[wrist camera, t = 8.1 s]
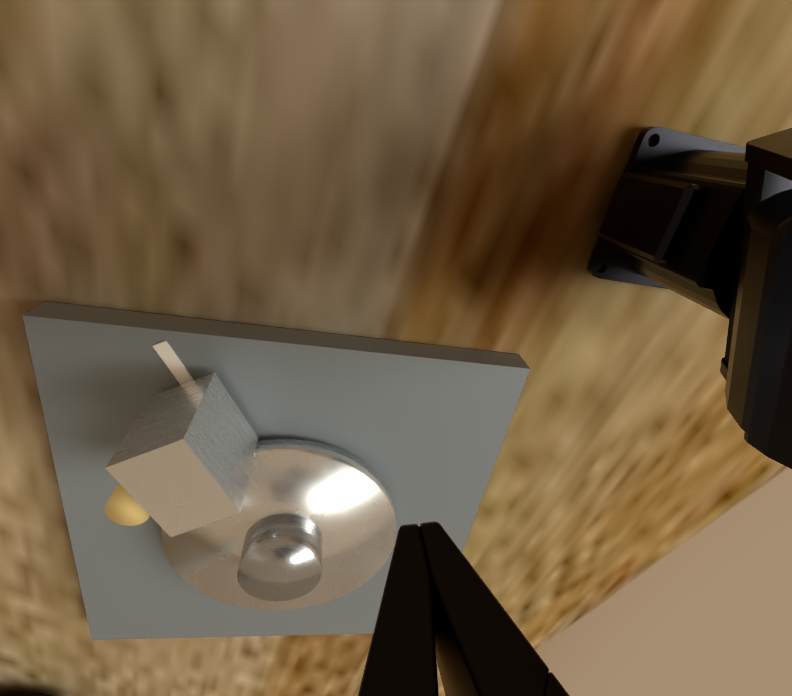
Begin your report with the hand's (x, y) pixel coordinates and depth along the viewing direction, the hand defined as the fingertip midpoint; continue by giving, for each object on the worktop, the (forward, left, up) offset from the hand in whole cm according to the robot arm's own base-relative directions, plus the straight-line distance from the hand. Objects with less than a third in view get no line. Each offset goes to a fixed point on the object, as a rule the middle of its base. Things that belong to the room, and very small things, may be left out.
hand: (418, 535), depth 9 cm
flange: (+4, +12, -11) cm, 17 cm away
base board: (+3, +13, -13) cm, 18 cm away
